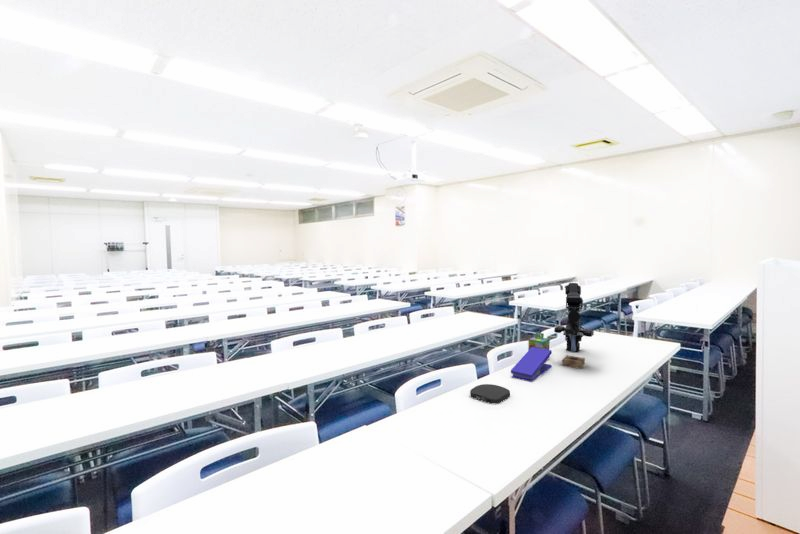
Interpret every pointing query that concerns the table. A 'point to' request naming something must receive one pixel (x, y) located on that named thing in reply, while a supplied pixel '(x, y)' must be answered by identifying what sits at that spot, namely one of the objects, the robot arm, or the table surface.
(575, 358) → the socket
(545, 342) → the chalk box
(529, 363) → the purple foot pedal
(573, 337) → the peg
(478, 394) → the media streaming box
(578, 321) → the robot arm
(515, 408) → the table surface
